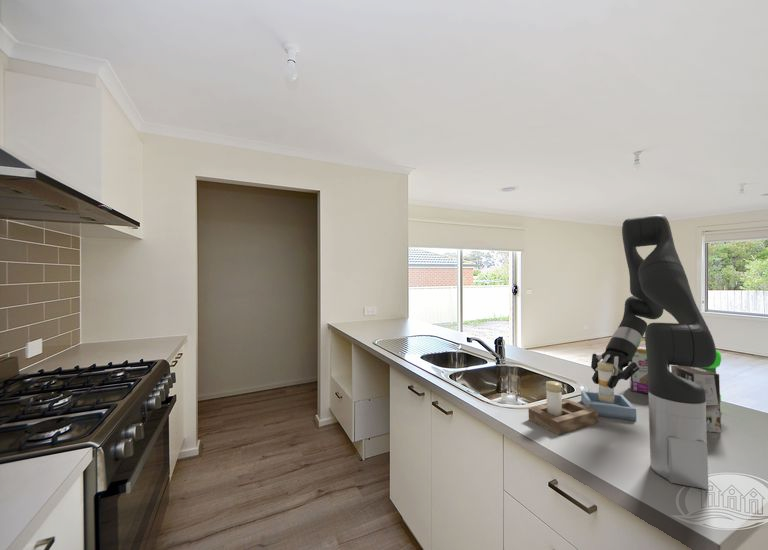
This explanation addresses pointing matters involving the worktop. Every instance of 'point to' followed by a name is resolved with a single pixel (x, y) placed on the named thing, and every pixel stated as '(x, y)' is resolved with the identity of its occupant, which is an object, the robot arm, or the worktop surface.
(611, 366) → the cylinder
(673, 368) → the coffee box
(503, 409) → the worktop surface
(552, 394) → the cylinder
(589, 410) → the fuse holder
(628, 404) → the tray
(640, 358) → the candy bar box
